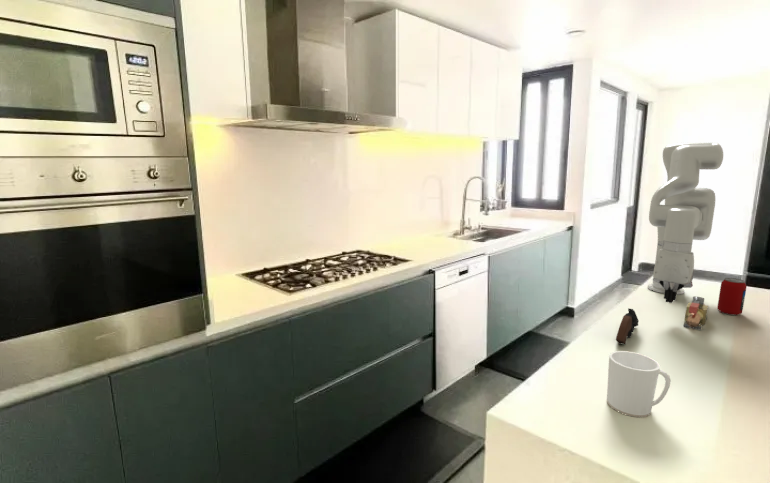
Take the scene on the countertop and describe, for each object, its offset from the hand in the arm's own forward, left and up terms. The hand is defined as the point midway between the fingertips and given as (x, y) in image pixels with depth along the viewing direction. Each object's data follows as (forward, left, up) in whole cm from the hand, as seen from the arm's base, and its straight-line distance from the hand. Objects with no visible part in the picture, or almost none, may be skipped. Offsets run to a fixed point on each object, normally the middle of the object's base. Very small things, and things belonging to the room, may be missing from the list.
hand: (669, 301), depth 133 cm
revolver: (+24, -7, -7) cm, 26 cm away
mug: (+65, +3, -7) cm, 66 cm away
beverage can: (-25, +15, -7) cm, 30 cm away
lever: (-2, +7, -1) cm, 7 cm away
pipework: (-7, +7, -7) cm, 12 cm away
